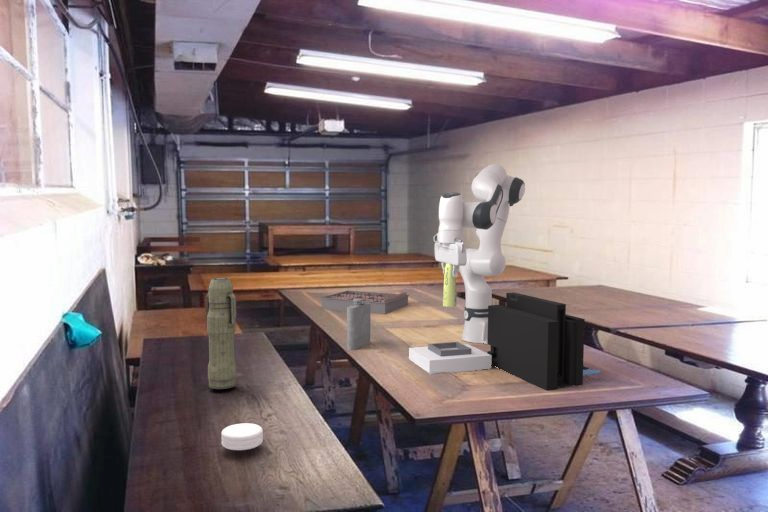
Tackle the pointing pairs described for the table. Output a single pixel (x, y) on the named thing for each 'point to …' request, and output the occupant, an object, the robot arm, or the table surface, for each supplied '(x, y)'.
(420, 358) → the white box with hole
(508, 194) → the robot arm
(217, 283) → the thermos
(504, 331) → the game console
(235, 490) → the table surface
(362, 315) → the hip flask
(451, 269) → the tube
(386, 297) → the organizer tray
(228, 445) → the coaster
